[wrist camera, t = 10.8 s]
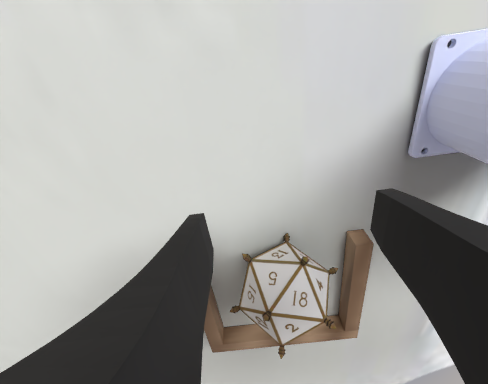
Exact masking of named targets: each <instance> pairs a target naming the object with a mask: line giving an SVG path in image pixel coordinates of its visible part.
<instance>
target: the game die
mask: <svg viewBox="0 0 488 384" xmlns="http://www.w3.org/2000/svg"><path fill="white" fill-rule="evenodd" d="M289 238H290V236H289V235H288V233H287V234H286V235H285V236H284V240H285V242H284V243H282V244H280V245H278V246H276V247H274V248H272V249H270V250H268V251H266V252H264V253H262V254H260V255H258V256H256V257H254V258H252V259H251V258H250V256H249V255H248V254H242V255H243V259H244V260H246V261H248V262H249V263H248V267H247V272H246V276H245V281H244V286H243V290H242V295H241V299H240V304H239V306H235V307H233V308H232V309H231V310H230V312H233V313H235V312H238V311H239V310H241V311H242V312H243V313H245V314H246V315H247V316H248V317H249V318H250V319H251V320H252V321H253V322H255V323H256V324H257V325H258V326H259V327H260V328H261V329H262V330H263V331H265V332H266V333H267V334H268V335H269V336H270V337H271V338H272V339H273V340H275V341H276V342H277V343H278V344H279V345H280V348H279V352H278V354H279V355H280V358H281V359H282V357H283V356H284V354H285V349H284V346H285V345H286V344H288V343H290V342H292V341H293V340H295V339H297V338H299V337H300V336H302V335H304V334H306V333H307V332H309V331H311V330H313V329H314V328H316V327H318V326H320V325H321V324H323V323H325V324H326V326H328V327H329V329H332V328H333V329H337V328H336V326H335V324H334V321H331V319H330V320H329V319H327V308H328V290H329V275H330V274H334V273H335V274H336V272H337V270H338V268H334V267H332V268H330V270H326V269H325V268H323V267H322V266H321V265H319V264H318V263H316V262H315V261H314V260H312V259H311V258H309V257H308V256H307V255H305V254H304V253H303V252H301V251H300V250H298V249H297V248H296V247H294V246H293V245H291V244H290V243H289V242H288V241H289Z"/></svg>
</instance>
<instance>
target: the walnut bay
mask: <svg viewBox="0 0 488 384" xmlns="http://www.w3.org/2000/svg"><path fill="white" fill-rule="evenodd" d="M373 245H374V244H373V242H372V241H371V240H370V238H369V237H368V235H367V234H366V233H365V231H364V230H363V229H361V230H353V231H347V236H346V246H345V256H344V266H343V276H342V285H341V295H340V305H339V315H335V316H327V319H329V320H330V319H331V321H334V324H335V326H336V328H337V329H333V328H332V329H329V327H328V326H326V324H325V323H323V324H321V325H320V326H318V327H316V328H314V329H313V330H311V331H309V332H307V333H306V334H304V335H302V336H300V337H299V338H297V339H295V340H293V341H292V342H290V343H288V344H286V345H291V344H301V343H311V342H320V341H330V340H339V339H349V338H357V335H358V329H359V324H360V318H361V312H362V307H363V301H364V295H365V290H366V284H367V278H368V273H369V267H370V262H371V256H372V250H373ZM204 330H205V333H206V336H207V339H208V341H209V344H210V347H211V349H212V352H213V353H214V352H224V351H234V350H243V349H253V348H262V347H272V346H280V345H279V344H278V343H277V342H276V341H275V340H273V339H272V338H271V337H270V336H269V335H268V334H267V333H266V332H265V331H263V330H262V329H261V328H260V327H259V326H258V325H257V324H252V325H242V326H233V327H223V323H222V320H221V317H220V313H219V310H218V307H217V303H216V300H215V297H214V293H213V290H212V287H211V286H210V292H209V299H208V305H207V311H206V317H205V324H204Z"/></svg>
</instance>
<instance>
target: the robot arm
mask: <svg viewBox="0 0 488 384" xmlns="http://www.w3.org/2000/svg"><path fill="white" fill-rule="evenodd" d="M450 40H451V45H450V46H449V47H447V44H448V42H449V41H450ZM423 148H425V149H424V151H423V152H421V151H422V149H423ZM457 152H462V153H464V154H466V155H468V156H471V157H473V158H475V159H477V160H480V161H482V162H484V163H486V164H488V29H482V30H475V31H469V32H462V33H455V34H449V35H442V36H439V37H437V38H436V39H435V40H434V41H433V43H432V45H431V49H430V54H429V58H428V63H427V68H426V72H425V77H424V81H423V86H422V91H421V95H420V100H419V104H418V109H417V114H416V118H415V123H414V127H413V132H412V137H411V141H410V146H409V150H408V154H409V155H410V156H411V157H413V158H419V157H426V156H434V155H442V154H449V153H457ZM370 230H371V232H372V234H373V236H374V238H375V240H376V242H377V244H378V245H379V247H380V249H381V251H382V252H383V254H384V255H385V256H386V258H387V259H388V261H389V262H390V263H391V265H392V266H393V268H394V269H395V270H396V272H397V273H398V274H399V276H400V277H401V279H402V280H403V281H404V283H405V284H406V285H407V287H408V288H409V290H410V291H411V292H412V294H413V295H414V296H415V298H416V299H417V301H418V302H419V304H420V305H421V307H422V308H423V310H424V311H425V313H426V315H427V316H428V318H429V320H430V321H431V323H432V325H433V326H434V328H435V330H436V332H437V333H438V335H439V337H440V338H441V340H442V342H443V344H444V346H445V348H446V349H447V351H448V353H449V355H450V357H451V358H452V360H453V362H454V364H455V366H456V367H457V369H458V371H459V373H460V375H461V377H462V379H463V381H464V383H465V384H488V226H487V225H484V224H481V223H479V222H476V221H473V220H471V219H468V218H465V217H463V216H460V215H457V214H455V213H452V212H450V211H447V210H445V209H442V208H440V207H437V206H435V205H433V204H430V203H428V202H425V201H423V200H421V199H418V198H416V197H413V196H411V195H408V194H406V193H403V192H400V191H398V190H395V189H385V190H377V191H376V197H375V204H374V210H373V216H372V223H371V229H370ZM212 273H213V246H212V242H211V238H210V235H209V231H208V227H207V223H206V220H205V216H204V213H201V214H193V215H189V216H188V218H187V219H186V220H185V221H184V222H183V224H182V225H181V226H180V227H179V229H178V230H177V231H176V232H175V234H174V235H173V236H172V237H171V238H170V240H169V241H168V242H167V243H166V244H165V245H164V247H163V248H162V249H161V250H160V251H159V252H158V253H157V254H156V255H155V256H154V257H153V259H152V260H151V261H150V262H149V263H148V264H147V265H146V266H145V267H144V268H143V269H142V270H141V271H140V272H139V273H138V274H137V275H136V276H135V277H134V278H133V279H131V280H130V281H129V282H128V283H127V284H126V285H125V286H124V287H123V288H121V289H120V290H119V291H118V292H117V293H115V294H114V295H113V296H112V297H110V298H109V299H108V300H107V301H106V302H104V303H103V304H102V305H101V306H99V307H98V308H97V309H96V310H94V311H93V312H92V313H90V314H89V315H88V316H86V317H85V318H84V319H82V320H81V321H79V322H78V323H77V324H75V325H74V326H73V327H71V328H70V329H68V330H67V331H65V332H64V333H62V334H61V335H60V336H58V337H57V338H55V339H54V340H52V341H51V342H49V343H48V344H46V345H45V346H43V347H41V348H40V349H38V350H37V351H35V352H33V353H32V354H30V355H29V356H27V357H26V358H24V359H22V360H21V361H19V362H18V363H16V364H14V365H13V366H11V367H10V368H8V369H6V370H5V371H3V372H1V373H0V384H201V366H202V348H203V333H204V324H205V317H206V311H207V305H208V299H209V292H210V286H211V279H212Z"/></svg>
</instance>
